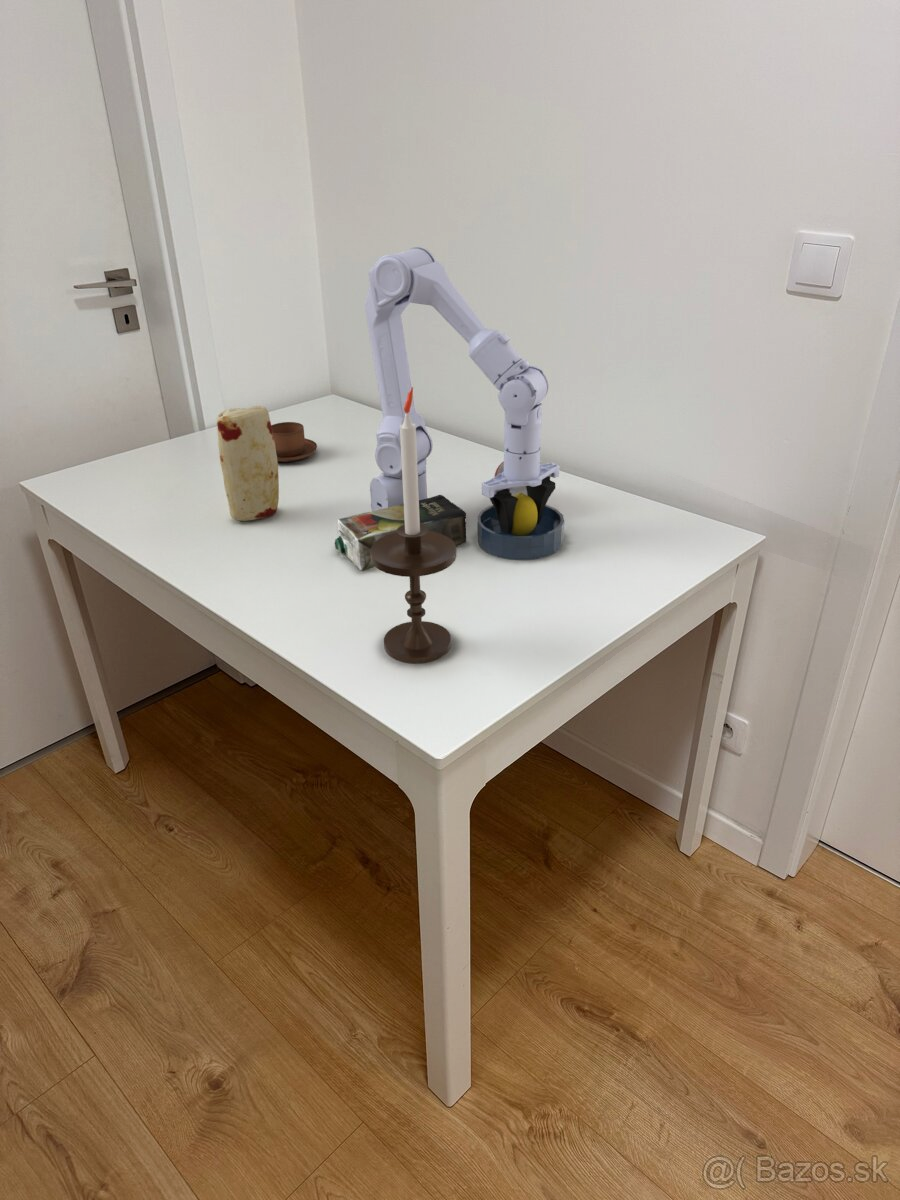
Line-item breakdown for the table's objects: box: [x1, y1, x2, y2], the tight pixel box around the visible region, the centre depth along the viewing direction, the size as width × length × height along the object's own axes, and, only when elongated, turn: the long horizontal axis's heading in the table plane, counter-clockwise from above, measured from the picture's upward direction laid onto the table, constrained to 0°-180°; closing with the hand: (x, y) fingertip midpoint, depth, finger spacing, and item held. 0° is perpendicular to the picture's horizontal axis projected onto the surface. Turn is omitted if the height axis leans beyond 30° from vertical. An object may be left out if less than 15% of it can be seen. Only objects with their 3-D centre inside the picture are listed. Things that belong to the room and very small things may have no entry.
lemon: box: [511, 493, 538, 536], centre depth 138 cm, size 6×6×8 cm
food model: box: [216, 405, 280, 522], centre depth 146 cm, size 10×7×20 cm
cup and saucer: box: [271, 421, 318, 463], centre depth 175 cm, size 12×12×6 cm
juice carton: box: [334, 494, 467, 571], centre depth 137 cm, size 20×10×6 cm, turn 118°
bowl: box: [476, 504, 565, 561], centre depth 139 cm, size 14×14×4 cm
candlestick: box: [370, 386, 457, 664], centre depth 105 cm, size 11×11×35 cm
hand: (520, 526), depth 139 cm, fingers closed on lemon, 5 cm apart
